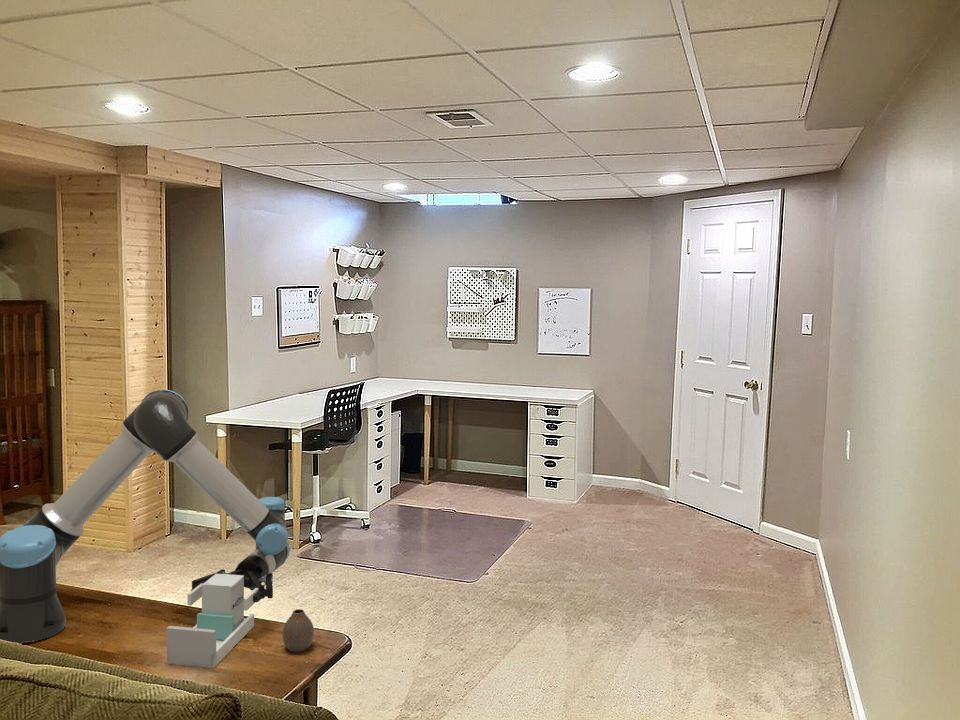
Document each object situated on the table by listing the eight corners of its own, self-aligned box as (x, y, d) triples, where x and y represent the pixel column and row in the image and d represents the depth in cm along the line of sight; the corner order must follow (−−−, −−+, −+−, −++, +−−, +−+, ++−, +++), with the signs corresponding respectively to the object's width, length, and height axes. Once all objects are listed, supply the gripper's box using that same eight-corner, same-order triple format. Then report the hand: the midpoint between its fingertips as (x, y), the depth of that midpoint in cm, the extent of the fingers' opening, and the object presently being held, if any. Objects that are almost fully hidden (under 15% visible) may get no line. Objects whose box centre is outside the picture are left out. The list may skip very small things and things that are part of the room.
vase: (302, 657, 175) (303, 619, 174) (276, 652, 177) (276, 614, 176) (319, 644, 181) (319, 607, 181) (293, 639, 184) (294, 602, 183)
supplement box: (231, 639, 181) (231, 586, 180) (200, 636, 182) (200, 584, 181) (245, 625, 189) (244, 574, 187) (215, 623, 190) (215, 572, 188)
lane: (212, 622, 191) (212, 590, 190) (254, 626, 190) (254, 593, 189) (167, 663, 171) (166, 628, 170) (213, 668, 169) (213, 632, 168)
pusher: (199, 635, 182) (198, 612, 182) (233, 638, 181) (233, 615, 181) (197, 637, 181) (196, 614, 181) (231, 640, 180) (231, 617, 180)
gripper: (302, 587, 201) (269, 622, 180) (209, 579, 204) (166, 613, 183) (302, 558, 200) (269, 590, 179) (209, 551, 203) (165, 582, 182)
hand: (216, 602), depth 181 cm, fingers open, 13 cm apart
